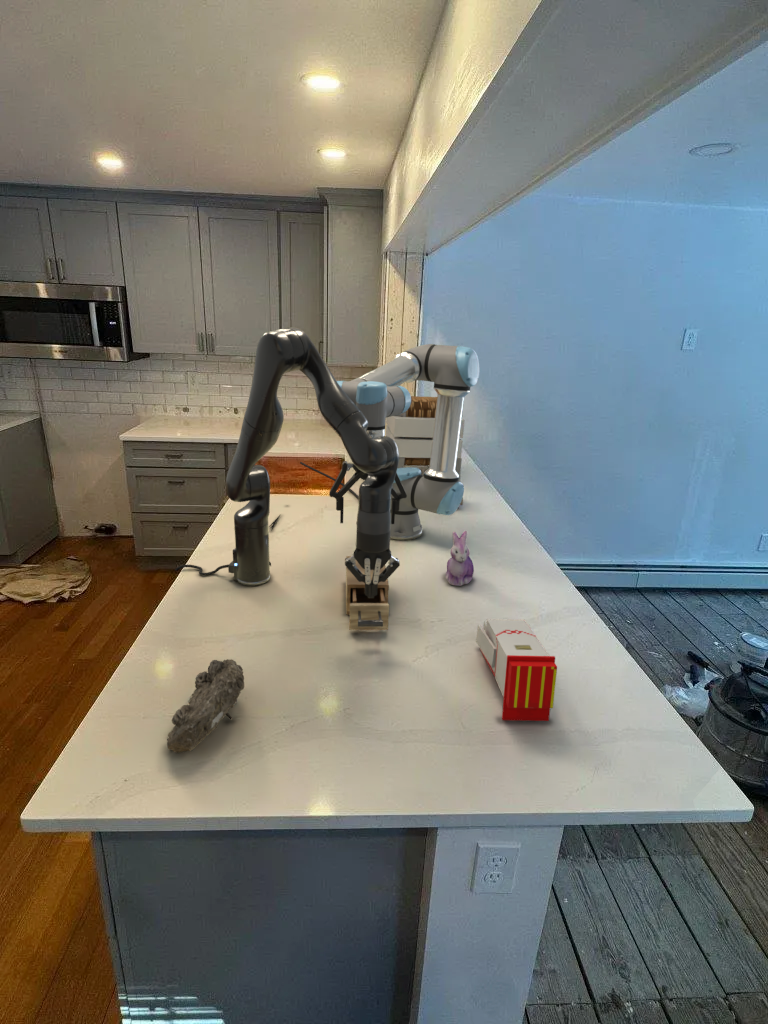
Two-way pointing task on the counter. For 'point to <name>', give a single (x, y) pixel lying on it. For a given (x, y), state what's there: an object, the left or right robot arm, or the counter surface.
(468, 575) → the figurine
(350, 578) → the cabinet
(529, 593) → the counter surface
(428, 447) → the white crate
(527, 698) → the toy
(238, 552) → the left robot arm
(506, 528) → the counter surface
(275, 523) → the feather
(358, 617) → the drawer
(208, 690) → the fossil
